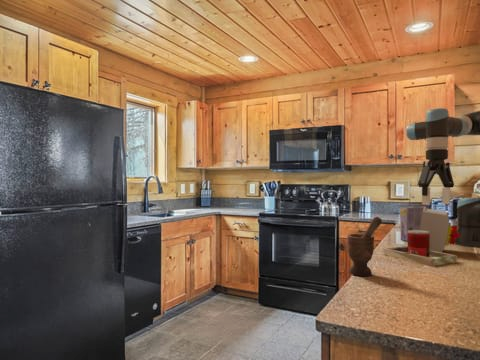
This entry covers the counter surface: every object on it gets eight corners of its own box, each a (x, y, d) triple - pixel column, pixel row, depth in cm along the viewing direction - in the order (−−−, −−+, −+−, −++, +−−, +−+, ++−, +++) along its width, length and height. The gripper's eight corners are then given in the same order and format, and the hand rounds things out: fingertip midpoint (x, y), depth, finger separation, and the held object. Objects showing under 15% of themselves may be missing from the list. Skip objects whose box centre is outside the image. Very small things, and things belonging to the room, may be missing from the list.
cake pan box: (420, 237, 194) (420, 205, 194) (429, 238, 190) (429, 206, 190) (399, 240, 184) (399, 207, 184) (408, 242, 180) (408, 207, 180)
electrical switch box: (454, 261, 145) (463, 214, 144) (415, 252, 153) (422, 207, 151) (455, 255, 158) (462, 211, 156) (418, 247, 165) (425, 205, 164)
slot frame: (407, 251, 155) (407, 245, 155) (456, 261, 136) (456, 254, 136) (383, 254, 149) (383, 248, 149) (431, 266, 129) (431, 258, 129)
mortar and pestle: (386, 274, 118) (386, 215, 118) (380, 280, 111) (380, 217, 111) (351, 269, 125) (351, 213, 125) (344, 275, 117) (344, 215, 117)
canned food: (432, 260, 138) (432, 232, 138) (410, 259, 139) (410, 232, 139) (426, 256, 145) (425, 230, 145) (405, 255, 147) (405, 229, 147)
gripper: (445, 151, 145) (444, 203, 144) (407, 148, 132) (407, 204, 132) (464, 150, 138) (463, 204, 138) (427, 146, 125) (426, 205, 125)
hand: (436, 204), depth 135 cm, fingers open, 13 cm apart
